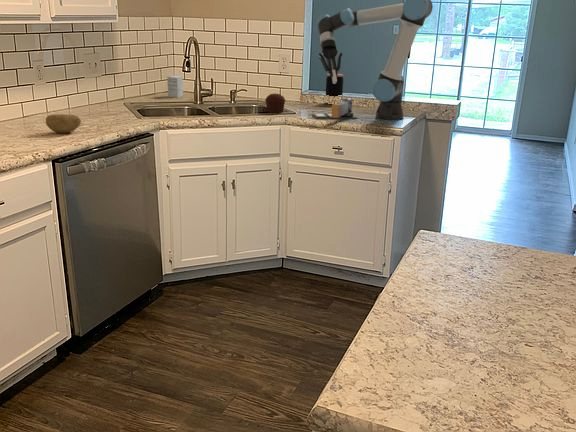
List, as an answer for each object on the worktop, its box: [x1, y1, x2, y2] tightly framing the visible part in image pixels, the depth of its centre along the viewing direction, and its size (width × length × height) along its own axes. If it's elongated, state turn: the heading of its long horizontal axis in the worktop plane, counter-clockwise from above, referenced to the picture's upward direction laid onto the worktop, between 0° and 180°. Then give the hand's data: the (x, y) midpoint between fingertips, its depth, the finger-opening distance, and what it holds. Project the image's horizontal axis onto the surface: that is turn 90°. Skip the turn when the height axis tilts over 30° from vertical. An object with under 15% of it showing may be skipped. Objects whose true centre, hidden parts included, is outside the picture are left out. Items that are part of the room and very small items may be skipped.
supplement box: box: [166, 75, 184, 99], centre depth 367 cm, size 7×7×13 cm
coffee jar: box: [325, 73, 344, 96], centre depth 362 cm, size 11×11×18 cm
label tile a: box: [324, 113, 341, 120], centre depth 312 cm, size 6×10×1 cm, turn 11°
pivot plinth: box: [340, 112, 358, 120], centre depth 314 cm, size 9×9×3 cm
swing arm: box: [331, 97, 354, 118], centre depth 304 cm, size 23×5×7 cm, turn 157°
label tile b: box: [311, 113, 329, 120], centre depth 311 cm, size 6×10×1 cm, turn 11°
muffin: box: [264, 93, 286, 114], centre depth 322 cm, size 12×11×10 cm
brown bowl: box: [45, 113, 82, 134], centre depth 246 cm, size 10×14×8 cm
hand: (335, 82), depth 295 cm, fingers closed
